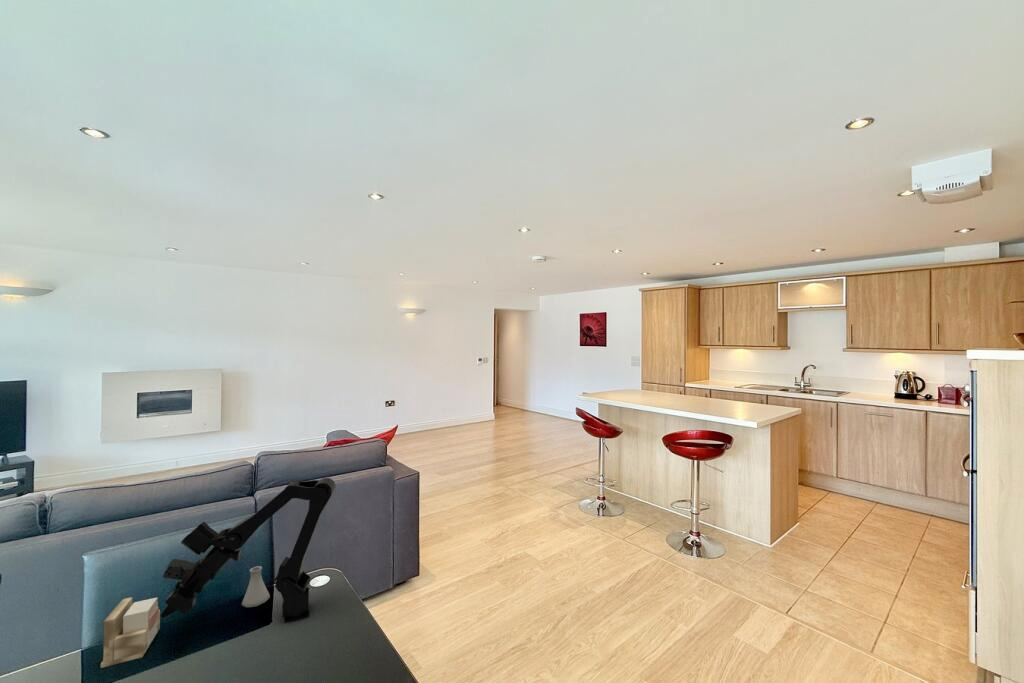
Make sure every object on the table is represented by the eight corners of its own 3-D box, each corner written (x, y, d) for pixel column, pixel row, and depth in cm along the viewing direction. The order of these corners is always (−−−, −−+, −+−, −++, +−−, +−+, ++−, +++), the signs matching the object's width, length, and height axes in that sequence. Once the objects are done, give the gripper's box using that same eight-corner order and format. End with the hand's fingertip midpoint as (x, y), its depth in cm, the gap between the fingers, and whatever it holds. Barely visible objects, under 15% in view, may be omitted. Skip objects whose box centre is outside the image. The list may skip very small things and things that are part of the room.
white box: (159, 630, 114) (159, 597, 114) (149, 645, 108) (150, 610, 108) (133, 636, 112) (134, 602, 112) (122, 652, 105) (123, 616, 106)
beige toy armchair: (159, 631, 116) (160, 591, 116) (144, 656, 106) (145, 612, 106) (120, 641, 112) (120, 599, 113) (100, 668, 102) (101, 621, 103)
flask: (256, 609, 125) (256, 575, 125) (236, 607, 126) (236, 573, 127) (274, 595, 132) (274, 563, 132) (255, 594, 133) (255, 562, 134)
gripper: (195, 536, 123) (147, 584, 118) (175, 562, 106) (119, 620, 101) (227, 557, 126) (182, 604, 121) (213, 585, 109) (160, 642, 104)
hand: (161, 616), depth 112 cm, fingers closed
